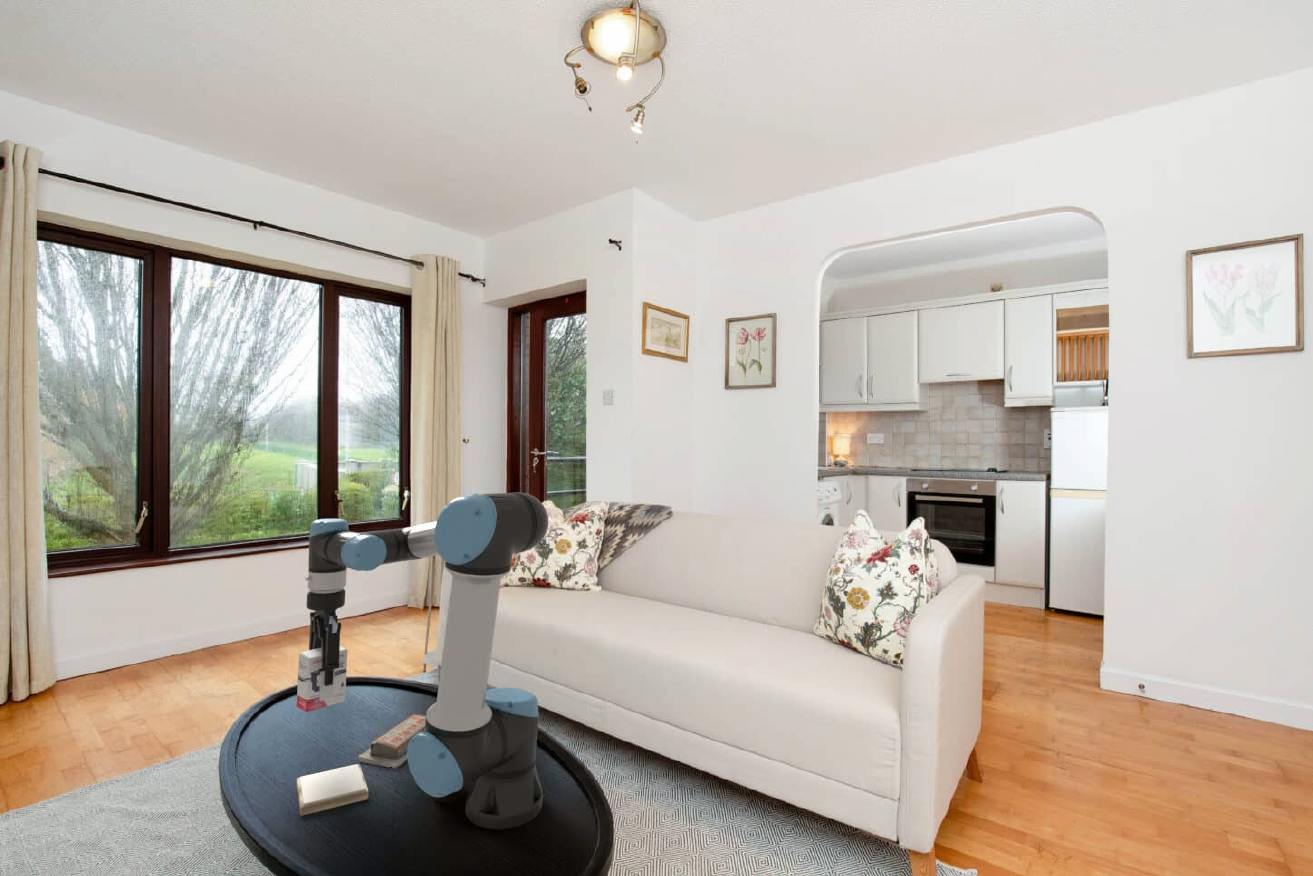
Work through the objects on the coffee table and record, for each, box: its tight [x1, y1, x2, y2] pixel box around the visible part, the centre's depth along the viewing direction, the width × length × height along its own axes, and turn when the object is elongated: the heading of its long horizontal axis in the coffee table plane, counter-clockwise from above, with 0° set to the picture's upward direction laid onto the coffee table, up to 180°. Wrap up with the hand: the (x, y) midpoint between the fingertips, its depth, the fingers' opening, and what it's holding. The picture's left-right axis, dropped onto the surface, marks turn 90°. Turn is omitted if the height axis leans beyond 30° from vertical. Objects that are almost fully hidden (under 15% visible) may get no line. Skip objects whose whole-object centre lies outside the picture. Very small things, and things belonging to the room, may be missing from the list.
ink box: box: [296, 645, 348, 713], centre depth 137 cm, size 8×5×12 cm, turn 144°
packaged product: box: [358, 714, 426, 769], centre depth 148 cm, size 18×5×10 cm
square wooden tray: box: [296, 763, 370, 817], centre depth 128 cm, size 12×12×2 cm
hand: (321, 694), depth 137 cm, fingers closed on ink box, 5 cm apart
